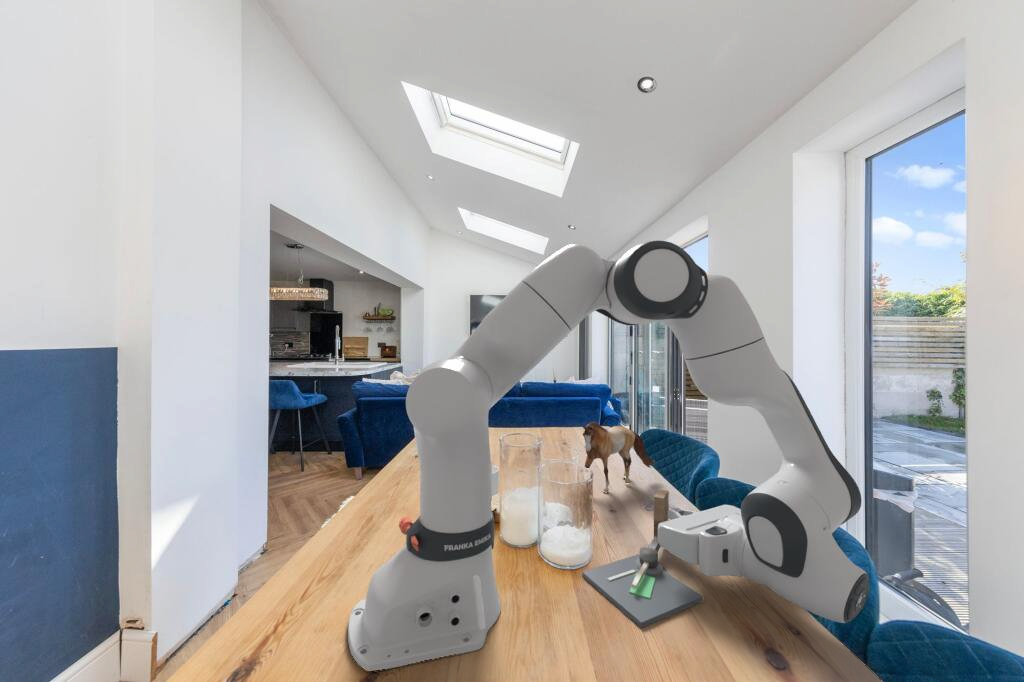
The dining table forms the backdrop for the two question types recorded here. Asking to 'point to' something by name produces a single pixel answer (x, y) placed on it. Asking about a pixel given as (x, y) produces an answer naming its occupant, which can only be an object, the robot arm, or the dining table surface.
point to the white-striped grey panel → (642, 590)
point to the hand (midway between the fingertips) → (672, 512)
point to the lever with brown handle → (651, 553)
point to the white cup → (495, 480)
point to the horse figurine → (613, 447)
